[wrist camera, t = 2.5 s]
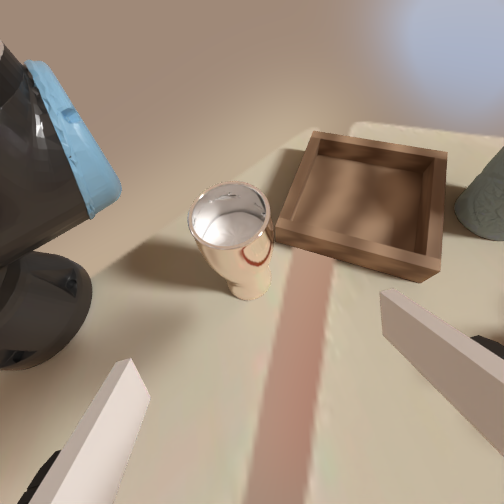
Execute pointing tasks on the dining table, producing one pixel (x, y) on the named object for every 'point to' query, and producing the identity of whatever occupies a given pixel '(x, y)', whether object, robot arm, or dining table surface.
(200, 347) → the dining table surface
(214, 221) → the beer glass
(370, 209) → the tray
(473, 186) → the grey green cup
